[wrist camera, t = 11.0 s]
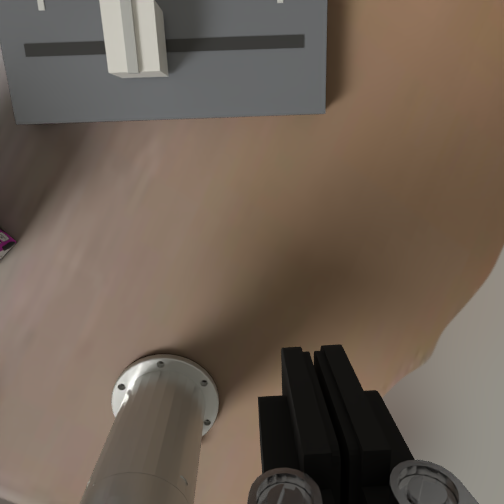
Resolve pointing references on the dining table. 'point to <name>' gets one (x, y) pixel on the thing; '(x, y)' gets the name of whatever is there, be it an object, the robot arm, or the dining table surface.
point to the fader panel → (178, 59)
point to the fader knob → (134, 38)
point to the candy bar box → (5, 243)
